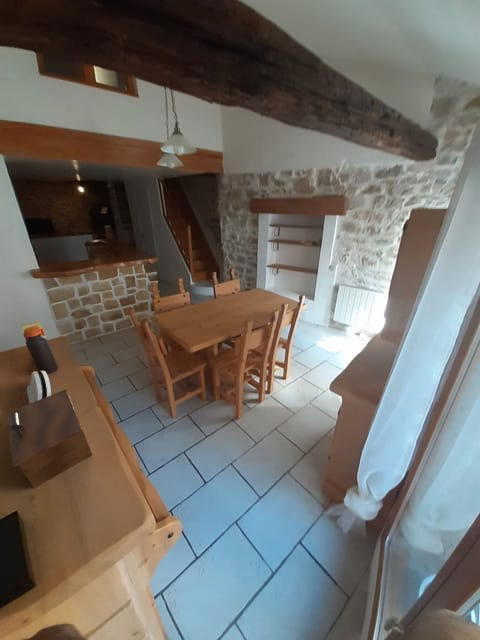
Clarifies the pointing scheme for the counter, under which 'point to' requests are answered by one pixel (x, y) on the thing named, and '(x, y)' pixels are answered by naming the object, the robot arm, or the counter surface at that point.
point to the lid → (42, 426)
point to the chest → (56, 459)
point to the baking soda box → (33, 326)
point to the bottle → (40, 350)
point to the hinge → (38, 387)
